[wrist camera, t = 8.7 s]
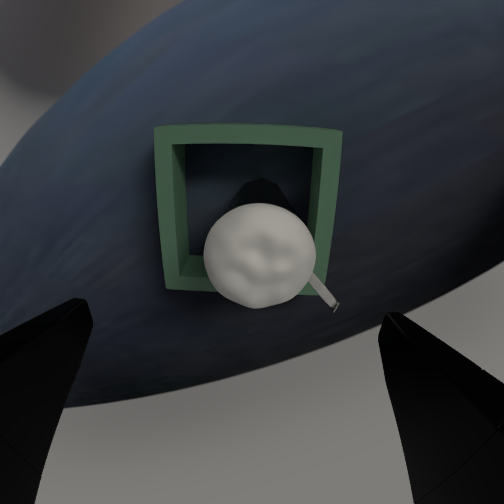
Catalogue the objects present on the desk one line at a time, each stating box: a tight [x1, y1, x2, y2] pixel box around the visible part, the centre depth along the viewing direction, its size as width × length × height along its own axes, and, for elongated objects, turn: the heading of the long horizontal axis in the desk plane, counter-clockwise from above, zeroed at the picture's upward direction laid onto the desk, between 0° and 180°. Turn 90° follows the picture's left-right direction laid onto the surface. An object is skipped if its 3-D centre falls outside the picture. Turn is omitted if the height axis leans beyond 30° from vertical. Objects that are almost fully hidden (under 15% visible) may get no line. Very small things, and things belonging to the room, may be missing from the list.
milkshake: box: [204, 178, 339, 312], centre depth 15 cm, size 4×5×10 cm
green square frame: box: [154, 123, 343, 295], centre depth 18 cm, size 10×10×3 cm
